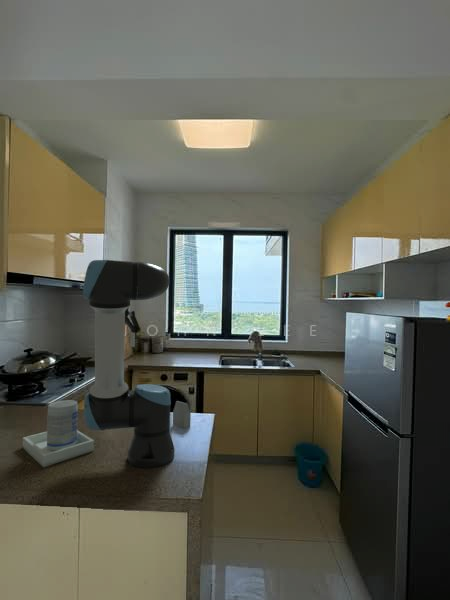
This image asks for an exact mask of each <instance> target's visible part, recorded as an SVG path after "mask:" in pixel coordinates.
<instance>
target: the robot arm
mask: <svg viewBox="0 0 450 600" xmlns="http://www.w3.org/2000/svg"><path fill="white" fill-rule="evenodd" d="M85 271H86V272H85V275H84V276H85V277H84V281H83V287H82V288H83V289H82V292H83V294H82V295H83V296H82V297H83V299H84V300H89V302H88V303H89V307H90V308H91V309H92V310H94V384H92V386H90V388H89V391H88V392H87V393H86V394H84V400H83V408H84V409H83V415H84V420H85V425H86V427H87V428H88V429H89V430H91V431H106V430H117V429H129V428H133V437H132V440H131V443H130V445H129V449H128V452H127V461H128V463H129V464H130V465H132V466H134V467H136V468H144V469H145V468H146V469H147V468H151V469H152V468H157V467H161V466H164V465H167V464H169V463H170V462H171V461H173V460H174V457H175V445H174V443H173V439H172V436H171V433H170V432H171V430H170V429H171V428H170V427H171V404H172V402H171V392H170V390H169V389H168V388H167V387H164V386H162V385H158V384H150V383H149V384H148V383H147V384H146V383H144V384H138V385H136V386H135V387H134V390H129V384H127V382H125V381H124V379H125V378H124V376H125V374H124V373H125V370H124V369H125V333H126V332H125V330H126V329H125V324H126V325H127V327H128V328H129V329H130V330H131V332H129V333H130V334H129V336H130V337H129V338H130V340H129V348H130V347H131V348H135V346H136V339H137V334H138V332H140V331H141V327H140V324H139V322H138V320H137V318H136V313H135V310H130V311H129V308H130V306H131V301H146V300H151V299H154V298H157V297H160V296H161V295H163V294H164V293H165V292H166V291H168V288H169V286H170V275H169V274H168V273H167V271H166V270H165V269H164V268H162V267H160V266H158V265H156V264H155V265H154V264H152V263H148V262H142V261H124V260H111V259H110V260H109V259H95V260H92V261H90V262H89V263H88V266H87V268H86V270H85ZM128 316H129V317H128Z"/></svg>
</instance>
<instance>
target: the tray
mask: <svg viewBox="0 0 450 600" xmlns="http://www.w3.org/2000/svg"><path fill="white" fill-rule="evenodd" d="M22 449H23V450H24V451H25V452H26V453H27V454H28V455H29V456H31V457H32V459H34V460H35V462H37V463H38V464H39V465H40V466H41V467H42V468H46V467H49V466H52V465H56V464H58V463H60V462H64V461H68V460H71V459H73V458H77V457H79V456H83V455H85V454H88V453H91V452H94V451H95V439H93V438H91V437H90V436H88V435H86V434H84V433H82V432H81V431H80V430H78V429H77V443H76V444H75V445H74V446H70V447H67V448H64V449H60V450H57V451H53V450H50V449H48V448H47V431H43V432H40V433H36V434H35V433H34V434H31V435H28V436H24V437H22Z"/></svg>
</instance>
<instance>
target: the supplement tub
mask: <svg viewBox="0 0 450 600" xmlns="http://www.w3.org/2000/svg"><path fill="white" fill-rule="evenodd" d="M78 406H79V405H78V401H76V400H74V399H72V400H71V399H67V400H58V401H54V402H51V403H49V404H48V405H47V418H46V419H47V420H46V421H47V422H46V423H47V425H46V426H47V427H46V432H47V448H48V449H50V450H53V451H57V450H60V449H64V448H67V447H70V446H74V445H75V444H76V443H77V430H78V421H79V419H78V415H79V414H78V413H79V407H78Z"/></svg>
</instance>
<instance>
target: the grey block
mask: <svg viewBox="0 0 450 600" xmlns="http://www.w3.org/2000/svg"><path fill="white" fill-rule="evenodd" d="M191 415H192V413H191V410H190V406H189V403H187V402H183V401H179V400H176V401H175V404H174V408H173V410H172V427H176V428H179V429H182V430H187V429H189V428H191V419H192V418H191ZM188 427H189V428H188Z"/></svg>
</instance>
